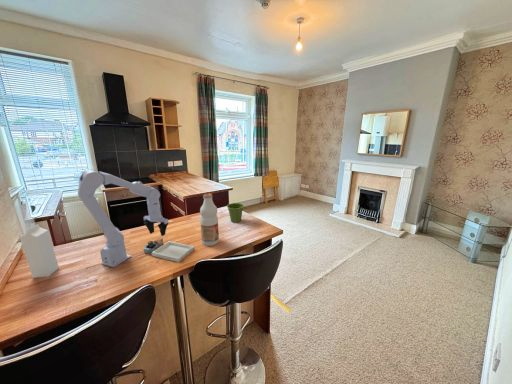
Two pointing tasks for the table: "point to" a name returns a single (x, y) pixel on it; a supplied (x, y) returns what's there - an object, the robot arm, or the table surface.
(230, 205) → the plant pot
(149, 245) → the knob
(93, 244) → the table surface
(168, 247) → the tray
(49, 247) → the milk
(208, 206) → the fruit juice
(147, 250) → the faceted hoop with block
